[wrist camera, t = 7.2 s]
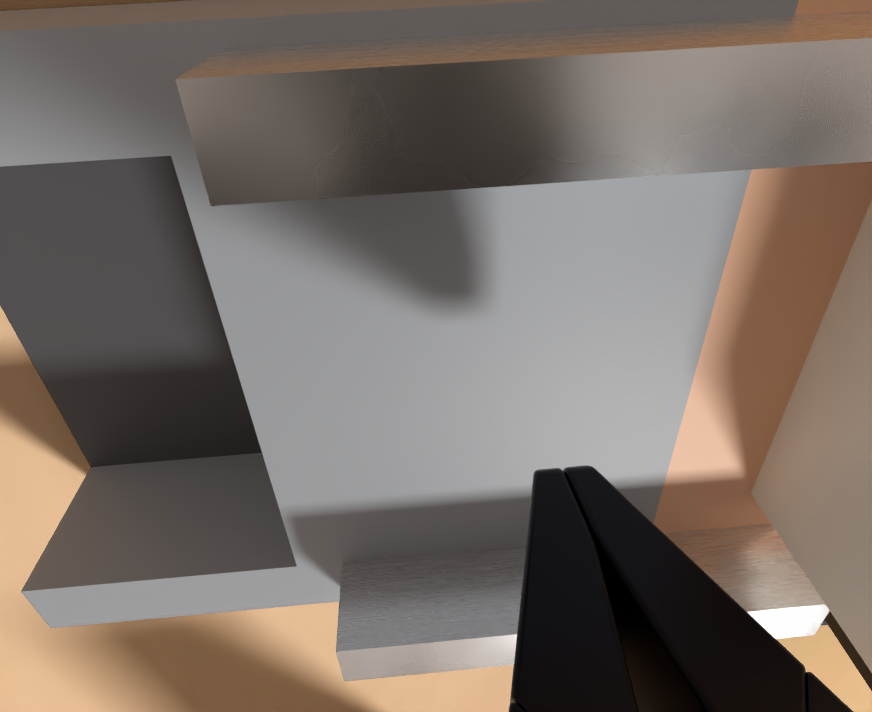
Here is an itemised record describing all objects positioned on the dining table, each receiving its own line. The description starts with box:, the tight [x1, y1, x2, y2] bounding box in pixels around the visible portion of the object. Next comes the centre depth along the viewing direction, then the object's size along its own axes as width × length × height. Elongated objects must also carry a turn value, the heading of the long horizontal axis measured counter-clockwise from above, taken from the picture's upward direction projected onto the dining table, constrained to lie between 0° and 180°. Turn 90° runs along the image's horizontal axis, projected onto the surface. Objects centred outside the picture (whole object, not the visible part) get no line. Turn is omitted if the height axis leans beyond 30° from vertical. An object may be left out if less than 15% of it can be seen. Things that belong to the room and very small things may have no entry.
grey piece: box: [0, 0, 872, 628], centre depth 12 cm, size 22×12×4 cm, turn 92°
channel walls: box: [175, 11, 872, 681], centre depth 10 cm, size 10×11×2 cm
